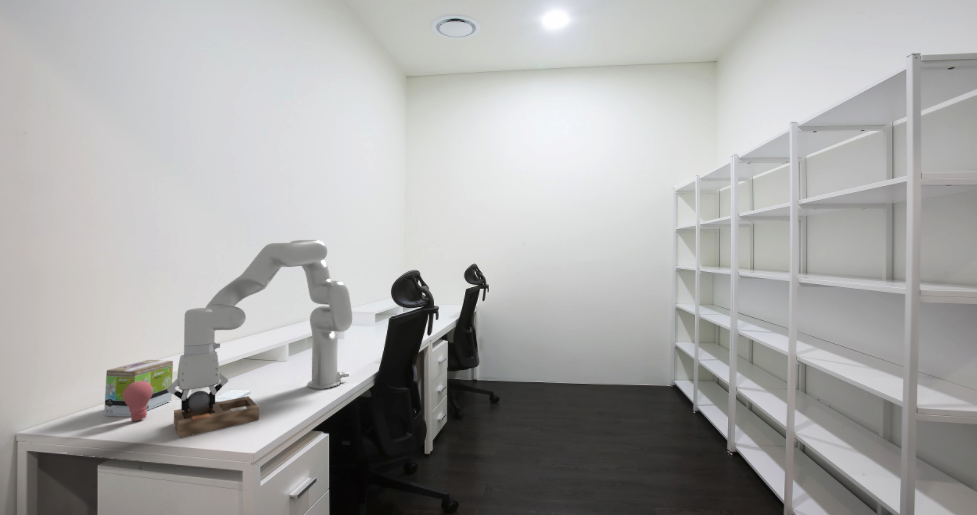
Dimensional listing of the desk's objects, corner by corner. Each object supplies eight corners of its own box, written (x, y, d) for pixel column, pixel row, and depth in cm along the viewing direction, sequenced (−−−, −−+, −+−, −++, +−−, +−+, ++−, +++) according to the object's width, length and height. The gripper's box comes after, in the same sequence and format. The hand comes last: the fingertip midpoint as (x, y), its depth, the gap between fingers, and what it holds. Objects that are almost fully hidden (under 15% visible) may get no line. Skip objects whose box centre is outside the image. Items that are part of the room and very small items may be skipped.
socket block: (248, 408, 137) (248, 395, 138) (258, 419, 128) (258, 405, 128) (173, 423, 124) (173, 409, 124) (178, 437, 114) (179, 422, 114)
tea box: (133, 417, 128) (134, 370, 129) (103, 416, 129) (104, 369, 129) (173, 401, 144) (173, 359, 144) (146, 400, 144) (146, 358, 144)
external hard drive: (250, 394, 153) (227, 406, 140) (229, 394, 153) (204, 405, 141) (250, 390, 153) (227, 401, 140) (229, 389, 153) (204, 400, 141)
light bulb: (116, 422, 124) (117, 383, 124) (143, 414, 131) (144, 377, 131) (131, 426, 121) (131, 386, 122) (157, 418, 128) (158, 379, 128)
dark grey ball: (208, 406, 127) (209, 386, 127) (212, 411, 122) (212, 391, 122) (184, 410, 123) (185, 390, 123) (187, 416, 118) (187, 395, 118)
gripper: (229, 343, 131) (229, 400, 131) (162, 351, 120) (160, 413, 120) (235, 347, 126) (234, 406, 126) (164, 355, 114) (163, 420, 114)
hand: (198, 409), depth 123 cm, fingers closed on dark grey ball, 5 cm apart
